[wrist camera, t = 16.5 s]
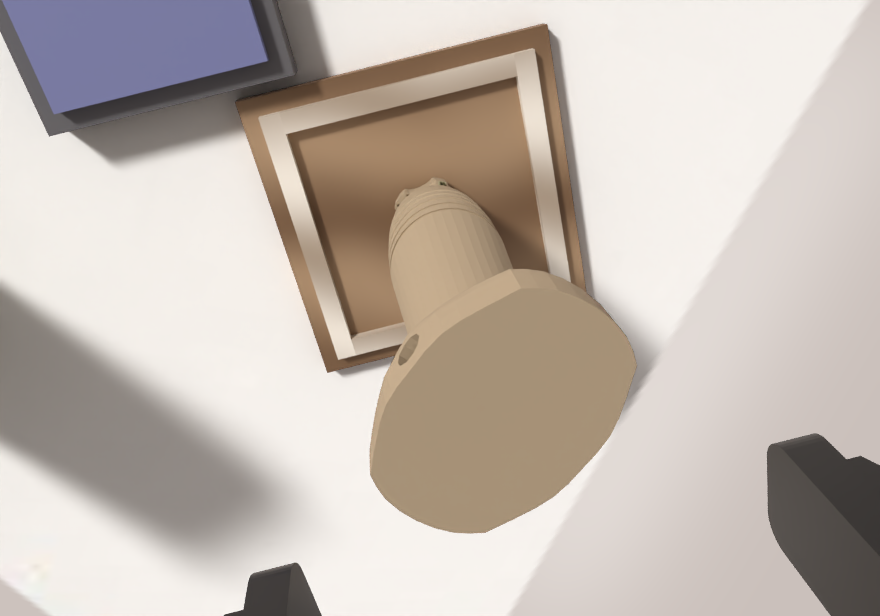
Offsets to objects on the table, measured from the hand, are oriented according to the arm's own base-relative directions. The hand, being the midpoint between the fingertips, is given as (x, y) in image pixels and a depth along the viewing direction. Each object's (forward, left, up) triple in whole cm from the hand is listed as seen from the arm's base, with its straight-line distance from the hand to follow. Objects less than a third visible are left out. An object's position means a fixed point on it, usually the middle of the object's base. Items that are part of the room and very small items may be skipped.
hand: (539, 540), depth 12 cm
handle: (0, 0, -19) cm, 19 cm away
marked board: (0, 0, -19) cm, 19 cm away
